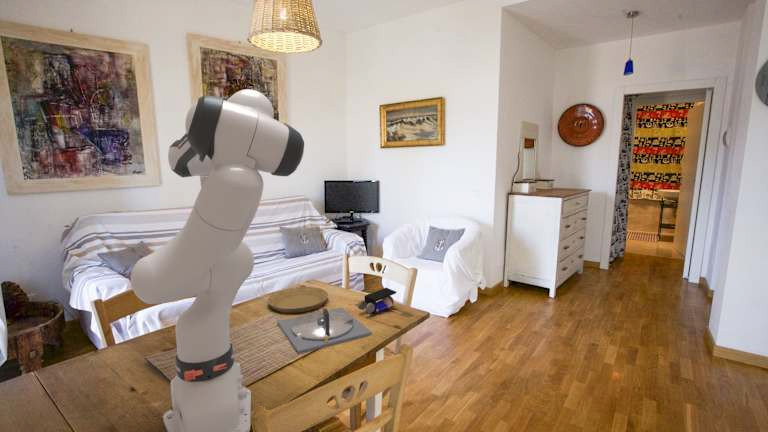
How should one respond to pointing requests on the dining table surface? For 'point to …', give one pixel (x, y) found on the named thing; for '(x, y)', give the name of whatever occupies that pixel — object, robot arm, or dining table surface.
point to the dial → (322, 325)
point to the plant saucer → (298, 299)
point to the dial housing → (310, 345)
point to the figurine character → (375, 296)
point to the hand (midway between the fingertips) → (221, 229)
